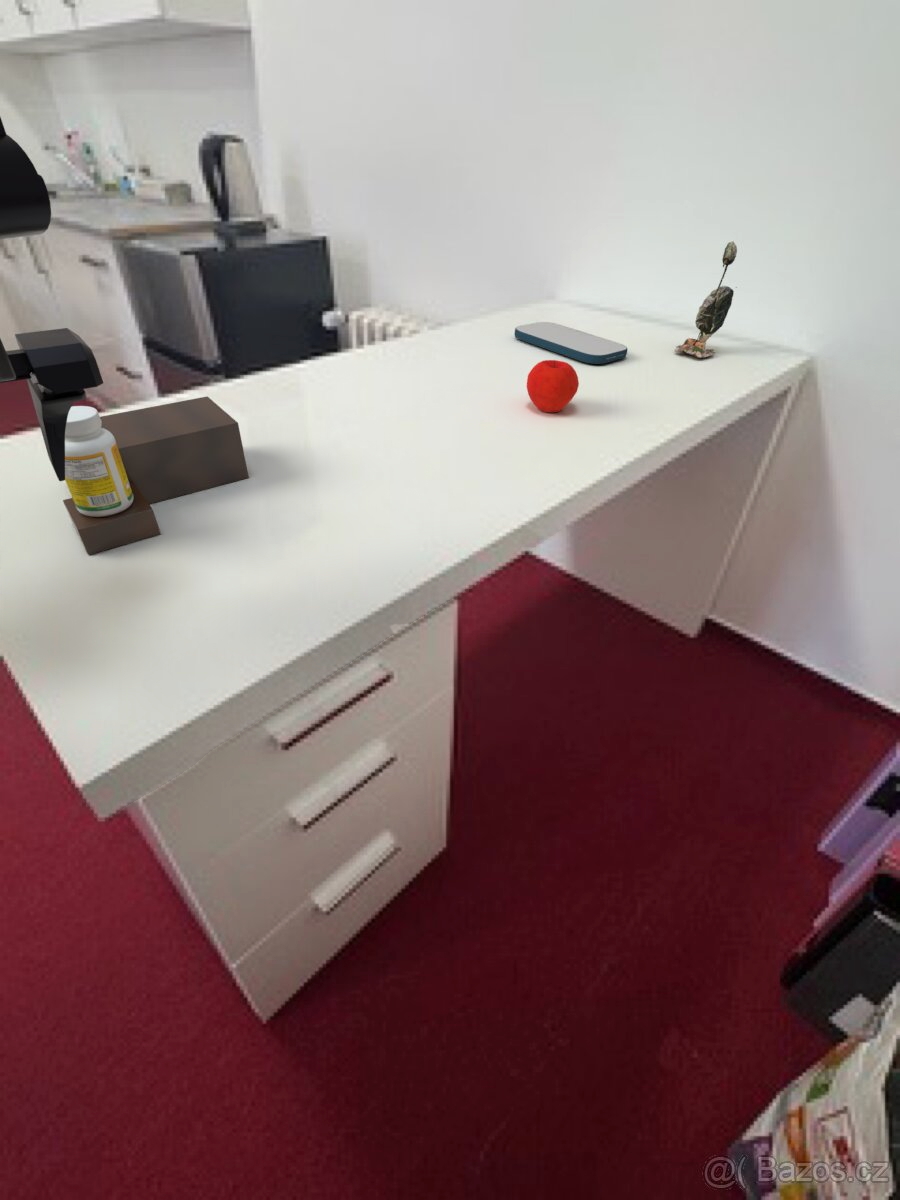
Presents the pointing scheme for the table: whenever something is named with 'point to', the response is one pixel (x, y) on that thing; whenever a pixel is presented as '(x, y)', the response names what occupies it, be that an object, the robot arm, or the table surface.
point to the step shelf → (163, 465)
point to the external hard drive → (571, 342)
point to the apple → (552, 385)
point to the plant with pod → (712, 312)
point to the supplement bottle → (94, 465)
